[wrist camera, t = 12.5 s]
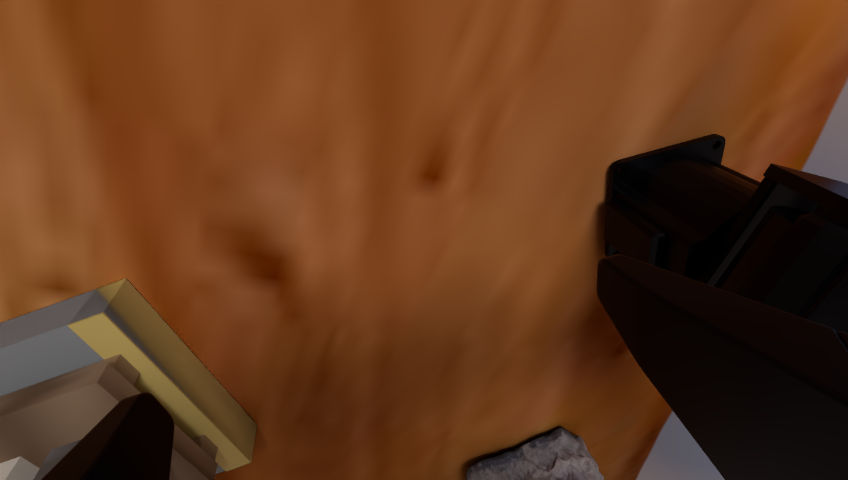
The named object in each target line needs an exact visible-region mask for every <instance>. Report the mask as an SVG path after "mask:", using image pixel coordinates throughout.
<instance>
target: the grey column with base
mask: <svg viewBox="0 0 848 480" xmlns="http://www.w3.org/2000/svg"><path fill="white" fill-rule="evenodd" d="M139 373H140V372H139V371H138V370H137V369H136V368H134V367H133V366H132V365H131V364H130V363H129V362H128V361H127V360H126V359H125V358H124V357H123V356H122V355H121V354H119V355H116V356H113V357H110V358H107V359H105V360H102V361H99V362H96V363H93V364H90V365H88V366H85V367H82V368H79V369H76V370H73V371H71V372H68V373H65V374H62V375H59V376H56V377H54V378H51V379H48V380H45V381H42V382H39V383H37V384H34V385H31V386H28V387H25V388H22V389H19V390H17V391H14V392H11V393H8V394H5V395H2V396H0V463H3V462H6V461H9V460H11V459H14V458H17V457H20V456H21V457H22V458H24V459H26V460H27V461H29V462H30V463H32V464H33V465H35V466H37V467H38V468H40V469H39V471H38V472H37V474H36V476H35V477H34V479H33V480H41V479H42V478H43V477H44V476H45V475H46V474H47V473H48V472H49V471H50V470H51V469H52V468H53V467H54V466H55V465H56V464H57V463H58V462H59V461H60V460H61V459H62V458H63V457H64V456H65V455H66V454H67V453H68V452H69V451H70V450H71V449H72V448H73V447H74V446H75V445H76V444H77V443H78V442H79V441H80V440H81V439H82V438H83V437H84V436H85V435H86V434H87V433H88V432H90V431H91V430H92V429H93V428H94V427H95V426H96V425H97V424H98V423H99V422H100V421H101V420H102V419H103V418H104V417H105V416H106V415H107V414H108V413H109V412H110V411H111V410H112V409H113V408H114V407H115V406H116V405H117V404H118V403H119V402H120V401H121V400H122V399H124V398H126V397H129V396H132V395H136V394H139V393H140V392H139V391H138V390H137V389H136V388H135V387H134V386H133V385H134V383H135V381H136V379H137V377H138V375H139ZM217 450H218V447H217V446H216V445H215V444H214V443H213V442H212V441H211V440H210V439H209V438H207V437H206V436H205V435H202V436H199V437H196V438H194V439H190V438H189V437H188V436H187V435H186V434H185V433H184V432H183V431H182V430H181V429H180V428H179V427H177V426H176V425H175V424H174V439H173V449H172V459H171V469H170V479H169V480H214V478H215V474H216V469H217V465H218V463H217V462H216V461H215V459H216V454H217Z"/></svg>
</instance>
